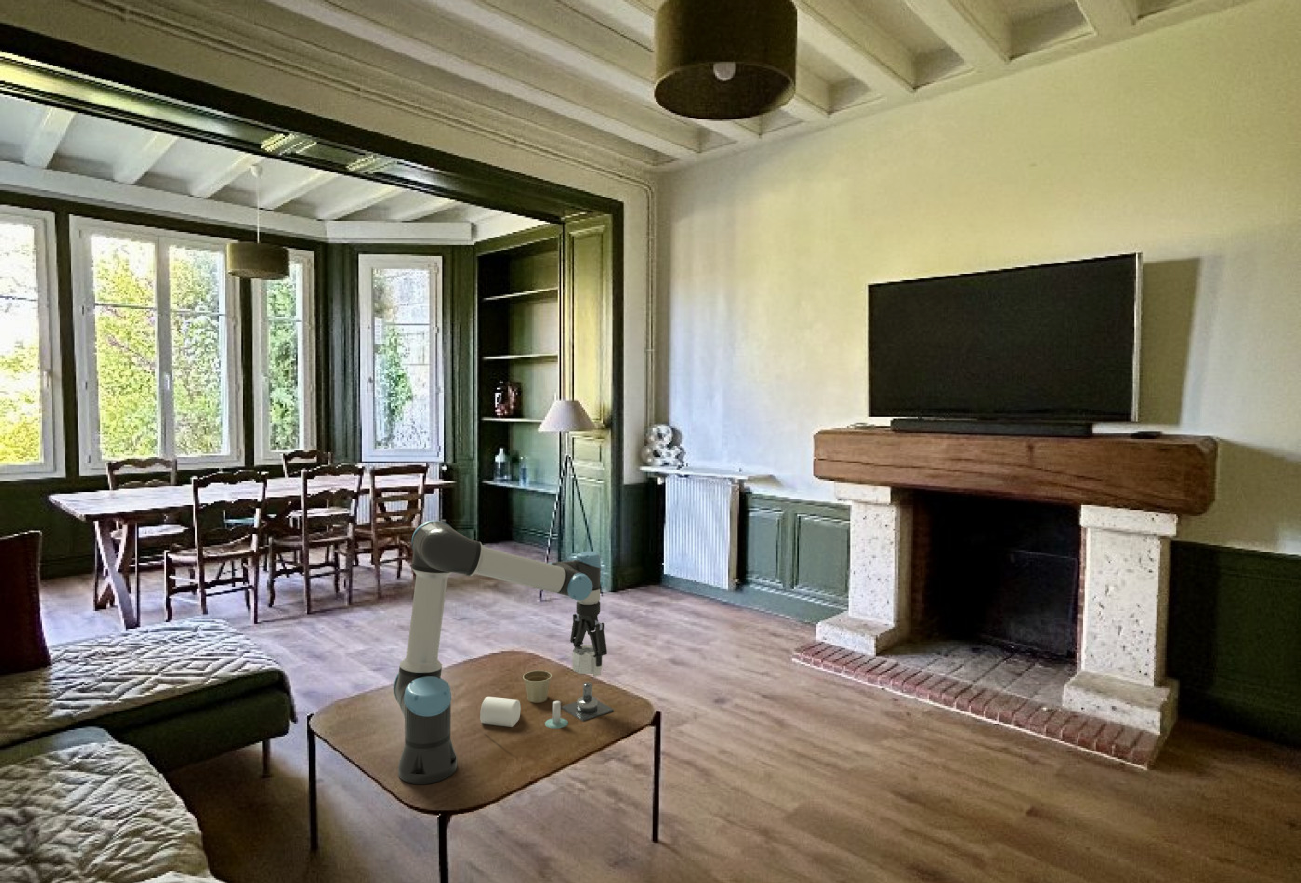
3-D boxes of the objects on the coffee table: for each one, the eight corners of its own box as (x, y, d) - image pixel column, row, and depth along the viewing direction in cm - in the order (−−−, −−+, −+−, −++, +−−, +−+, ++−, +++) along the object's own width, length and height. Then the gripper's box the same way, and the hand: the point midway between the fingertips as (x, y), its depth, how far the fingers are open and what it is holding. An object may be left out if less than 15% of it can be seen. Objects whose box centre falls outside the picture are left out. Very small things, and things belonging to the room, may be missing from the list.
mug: (510, 732, 217) (511, 706, 216) (479, 728, 219) (479, 703, 218) (525, 715, 229) (525, 690, 228) (496, 711, 231) (496, 687, 230)
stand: (553, 733, 216) (553, 709, 216) (540, 725, 221) (540, 701, 221) (572, 727, 221) (572, 703, 220) (559, 719, 226) (559, 695, 225)
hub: (582, 724, 223) (583, 695, 222) (560, 711, 232) (561, 682, 231) (613, 713, 230) (614, 685, 230) (591, 701, 240) (591, 673, 239)
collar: (584, 676, 224) (584, 657, 223) (567, 667, 230) (567, 649, 230) (607, 669, 229) (607, 650, 229) (590, 661, 236) (590, 643, 236)
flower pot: (543, 709, 233) (543, 683, 232) (517, 704, 236) (517, 679, 235) (556, 698, 242) (556, 672, 241) (531, 693, 245) (531, 668, 244)
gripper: (619, 607, 223) (618, 678, 224) (578, 591, 239) (577, 658, 241) (599, 611, 218) (598, 684, 219) (559, 595, 234) (559, 663, 236)
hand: (587, 670), depth 230 cm, fingers closed on collar, 9 cm apart
